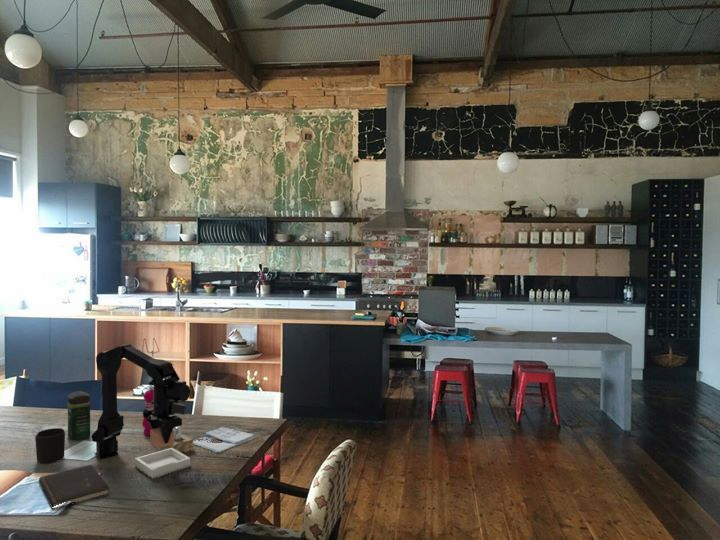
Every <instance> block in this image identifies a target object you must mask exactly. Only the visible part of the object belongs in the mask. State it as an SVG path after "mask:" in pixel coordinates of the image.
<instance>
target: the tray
mask: <svg viewBox="0 0 720 540" xmlns="http://www.w3.org/2000/svg"><path fill="white" fill-rule="evenodd" d="M135 466H136V467H137V468H136V467H135ZM134 467H135V468H136V469H138V468H139V469H140V470H139V469H138V470H139V471H141V472H142V471H143V472H144V473H143V472H142V473H143V474H145V475H146V474H147V475H146V476H148V477H149V478H150V477H151V479H152V480H154V479H156V477H157V478H159V477H163V476H165V474H166V475H168V473H169V474H172V473H175V472H178V471H181V470H184V469H187V468H189V467H191V457H189V456H187V455H186V454H185V453H181V452H179V451H177V450H175V449H174V448H169V449H165V450H164V449H162V450H159V451H156V452H151V453H149V454H145V455H142V456H141V455H140V456H137V457H135V458H134ZM183 468H184V469H183ZM180 469H181V470H180ZM177 470H178V471H177ZM174 471H175V472H174ZM171 472H172V473H171ZM153 478H154V479H153Z"/></svg>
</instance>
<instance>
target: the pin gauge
mask: <svg viewBox="0 0 720 540" xmlns="http://www.w3.org/2000/svg"><path fill="white" fill-rule="evenodd" d="M173 429H174V436H175V442H178V441H181V434H182V426H177V427H174V428H173Z"/></svg>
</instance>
